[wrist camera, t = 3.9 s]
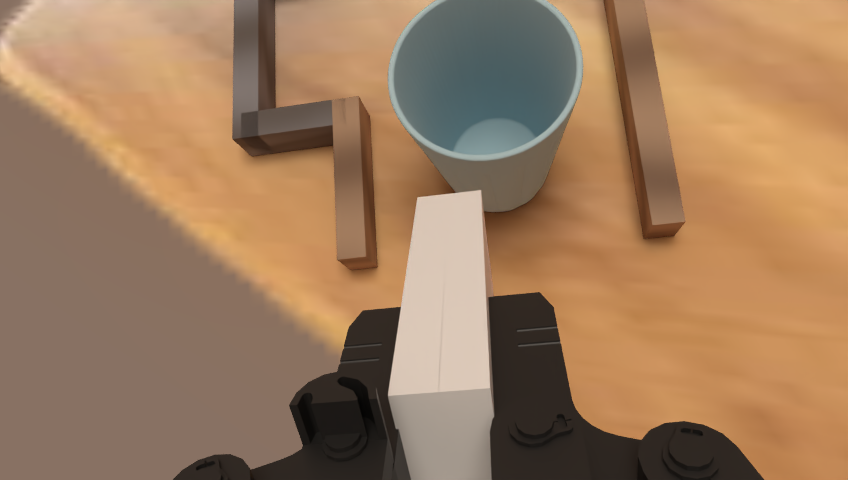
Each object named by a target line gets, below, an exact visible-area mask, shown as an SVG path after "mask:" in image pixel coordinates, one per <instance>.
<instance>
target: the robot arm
mask: <svg viewBox="0 0 848 480" xmlns="http://www.w3.org/2000/svg"><path fill="white" fill-rule="evenodd" d="M340 363H341V364H340V365H339V367H338V371H337V372H335V373H330V374H325V375H323V376H320V377H319V378H316V379H314V380H312V381H310V382H308V383H307V384H306V385H305V386H304V387H303V388H301V390H299V391H298V392H297V393H296V394H295V396H294V398H293V400H292V401H291V403H290V405H289V406H290V409H291V412H292V415H293V418H294V421H295V423H296V426H297V429H298V432H299V435H300V438H301V441H302V444H303V447H302V449H301V450H299V451H298V452H296V453H295V454H293V455H291V456H288V457H286V458H284V459H281V460H279V461H276V462H273V463H270V464H267V465H264V466H261V467H258V468H255V469H252V470H250V468H249V467H248V465H247V464H246V463H245V462H244V460H243V459H241V458H239V457H236V456H233V455H231V454H225V455H213V456H210V457H207V458H204V459H201V460H198V461H196V462H195V463H193V464H191V465H190V466H188V467H187V468H185V469H183V470H182V471H181V472H180V473H179V474H178V475H177V476H176V477H175V478H174V479H173V480H764V479H763V478H762V476H761V475H760V474H759V473H758V472H757V470H756V469H755V468H754V467H753V465H752V464H751V463H750V462H749V460H748V459H747V458H746V457H745V456H744V454H743V453H742V452H741V451H740V449H739V448H738V447H737V446H736V445H735V444H734V443H733V442H732V441H730V440H729V439H728V438H727V437H726V436H725V435H724V434H722V433H720V432H718V431H716V430H714V429H712V428H709V427H707V426H705V425H702V424H696V423H691V422H685V421H682V422H672V423H664V424H662V425H660V426H658V427H656V428H653V429H651V430H650V431H649V432H648V433H647V434H646V435H645V436H644V438H643V439H642V440H638V439H633V438H627V437H622V436H618V435H614V434H611V433H607V432H604V431H602V430H600V429H598V428H596V427H594V426H592V425H591V424H590V423H588V422H587V421H586V420H585V419H583V418H582V417H581V415H580V414H579V413H578V411H577V410H576V409H575V406H574V404H573V401H572V397H571V392H570V387H569V382H568V377H567V372H566V367H565V362H564V357H563V352H562V347H561V344H560V337H559V332H558V329H557V322H556V317H555V312H554V307H553V306H552V305H551V304H550V303H549V302H548V301H547V300H546V299H545V298H544V297H543V295H542V294H541V293H540V292H537V293H526V294H516V295H505V296H495V297H494V295H493V283H492V275H491V267H490V259H489V250H488V242H487V234H486V226H485V218H484V210H483V202H482V194H481V190H477V191H468V192H460V193H451V194H442V195H434V196H425V197H417V204H416V211H415V217H414V224H413V231H412V237H411V244H410V251H409V257H408V264H407V271H406V277H405V284H404V291H403V297H402V304H401V307H396V308H386V309H375V310H364V311H362V312H361V314H360V315H359V316H358V317H357V318H356V319H355V321H354V322H353V323H352V324H351V325H350V327H349V329H348V332H347V336H346V340H345V344H344V349H343V352H342V356H341V360H340Z"/></svg>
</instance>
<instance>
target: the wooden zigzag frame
mask: <svg viewBox="0 0 848 480" xmlns="http://www.w3.org/2000/svg"><path fill="white" fill-rule="evenodd" d="M604 4H605V10H606V16H607V22H608V28H609V34H610V40H611V46H612V52H613V58H614V64H615V70H616V76H617V82H618V88H619V94H620V100H621V105H622V111H623V117H624V123H625V129H626V135H627V141H628V147H629V153H630V159H631V165H632V171H633V177H634V183H635V189H636V195H637V201H638V207H639V213H640V219H641V225H642V231H643V237H644V239H646V238H655V237H665V236H674V235H675V234H676V233H677V232H678V230H679V229H680V228H681V227H682V225H683V224H684V223H685V217H684V211H683V206H682V201H681V195H680V190H679V185H678V179H677V174H676V169H675V163H674V158H673V152H672V147H671V142H670V136H669V131H668V126H667V120H666V115H665V110H664V104H663V99H662V94H661V88H660V83H659V78H658V72H657V67H656V62H655V56H654V51H653V46H652V40H651V35H650V30H649V24H648V19H647V14H646V8H645V3H644V0H604ZM232 139H233V140H234V141H235V142H236V143H237V144H239V145H240V146H241V147H242V148H243V149H244V150H245V151H246V152H247V153H249V154H250V155H251V156H257V155H264V154H271V153H279V152H286V151H294V150H301V149H308V148H316V147H323V146H330V145H333V148H334V178H335V208H336V238H337V260H338V261H340V262H341V263H342V264H344V265H345V266H346V267H348V268H349V269H350V270H355V269H364V268H373V267H377V248H376V228H375V209H374V189H373V169H372V150H371V130H370V116H369V114H368V112H367V110H366V109H365V107H364V105H363V103H362V101H361V100H360V98H359V96H356V97H349V98H342V99H335V100H328V101H321V102H314V103H308V104H301V105H294V106H287V107H280V108H275V0H234V54H233V135H232Z"/></svg>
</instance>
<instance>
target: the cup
mask: <svg viewBox="0 0 848 480" xmlns="http://www.w3.org/2000/svg"><path fill="white" fill-rule="evenodd" d="M582 77H583V57H582V51H581V47H580V44H579V41H578V38H577V36H576V34H575V31H574V30H573V28H572V26H571V25H570V23H569V22H568V20H567V19H566V18H565V17H564V15H563V14H562V13H561V12H560V11H559V10H558V9H557V8H555V7H554V6H553V5H552V4H550V3H549V2H548V1H546V0H436V1H434V2H433V3H431V4H430V5H428V6H427V7H426V8H424V9H423V10H422V11H421V12H419V13H418V14H417V15H416V16H415V17H414V18H413V19H412V20H411V21H410V22H409V24H408V25H407V26H406V28H405V29H404V30H403V32H402V34H401V35H400V37H399V39H398V41H397V43H396V45H395V47H394V50H393V52H392V55H391V59H390V63H389V69H388V89H389V95H390V99H391V103H392V106H393V108H394V110H395V113H396V115H397V117H398V119H399V120H400V122H401V123H402V125H403V126H404V128H405V129H406V130H407V131H408V133H409V134H410V135H411V137H412V138H413V139H414V140H415V142H416V143H417V144H418V145H419V147H420V148H421V149H422V150H423V151H424V152H425V154H426V155H427V156H428V158H429V159H430V160H431V162H432V163H433V164H434V165H435V167H436V168H437V169H438V171H439V172H440V173H441V175H442V176H443V177H444V178H445V180H446V181H447V182H448V184H449V185H450V186H451V187H452V189H453V190H454V191H455V192H456V193H460V192H468V191H477V190H481V194H482V202H483V210H484V211H487V212H504V211H510V210H513V209H515V208H517V207H519V206H521V205H523V204H525V203H527V202H528V201H530V200H531V199H532V198H533V197H534V196H535V195H536V193H537V192H538V191H539V189H540V188H541V187H542V186H543V184H544V182H545V180H546V177H547V175H548V172H549V170H550V167H551V164H552V162H553V159H554V157H555V154H556V151H557V149H558V146H559V144H560V141H561V138H562V136H563V133H564V130H565V128H566V125H567V123H568V120H569V118H570V116H571V113H572V110H573V108H574V105H575V103H576V100H577V98H578V95H579V92H580V88H581V84H582Z"/></svg>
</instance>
